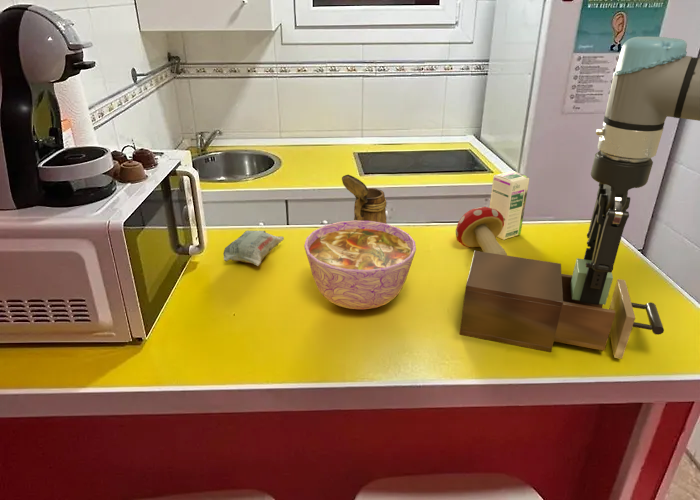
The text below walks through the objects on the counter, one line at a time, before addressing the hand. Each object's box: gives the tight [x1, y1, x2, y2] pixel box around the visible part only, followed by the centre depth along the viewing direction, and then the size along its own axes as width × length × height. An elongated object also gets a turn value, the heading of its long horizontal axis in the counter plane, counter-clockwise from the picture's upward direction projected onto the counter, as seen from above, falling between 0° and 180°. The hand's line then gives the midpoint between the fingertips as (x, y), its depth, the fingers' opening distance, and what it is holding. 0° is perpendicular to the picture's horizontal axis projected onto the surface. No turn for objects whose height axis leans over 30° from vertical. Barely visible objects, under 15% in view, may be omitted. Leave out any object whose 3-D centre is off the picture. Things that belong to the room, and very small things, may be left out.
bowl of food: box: [303, 219, 417, 311], centre depth 96 cm, size 20×20×12 cm
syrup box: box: [489, 170, 530, 241], centre depth 120 cm, size 6×6×14 cm
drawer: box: [554, 273, 665, 360], centre depth 86 cm, size 19×12×8 cm, turn 72°
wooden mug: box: [341, 174, 388, 224], centre depth 115 cm, size 9×14×18 cm, turn 145°
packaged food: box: [223, 229, 285, 267], centre depth 111 cm, size 9×12×5 cm
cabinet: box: [459, 250, 563, 353], centre depth 89 cm, size 15×13×10 cm
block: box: [571, 257, 614, 306], centre depth 83 cm, size 5×5×5 cm
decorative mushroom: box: [455, 206, 508, 256], centre depth 112 cm, size 11×11×15 cm
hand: (588, 292), depth 85 cm, fingers closed on block, 5 cm apart
